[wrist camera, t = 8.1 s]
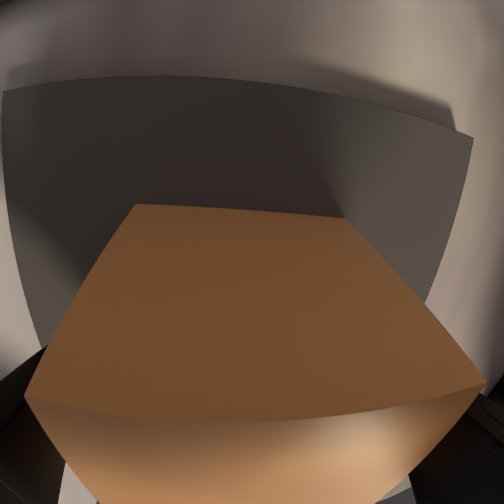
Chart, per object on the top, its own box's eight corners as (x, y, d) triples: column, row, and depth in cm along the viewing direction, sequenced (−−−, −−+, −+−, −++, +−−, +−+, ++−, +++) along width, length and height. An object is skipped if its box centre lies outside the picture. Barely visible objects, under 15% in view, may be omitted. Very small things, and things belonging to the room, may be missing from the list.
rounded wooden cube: (344, 218, 10) (487, 382, 4) (305, 365, 13) (353, 519, 6) (135, 203, 9) (23, 396, 3) (147, 361, 12) (125, 529, 5)
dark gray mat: (457, 133, 10) (473, 137, 9) (365, 394, 16) (371, 407, 15) (18, 90, 8) (2, 91, 7) (69, 388, 14) (64, 402, 13)
